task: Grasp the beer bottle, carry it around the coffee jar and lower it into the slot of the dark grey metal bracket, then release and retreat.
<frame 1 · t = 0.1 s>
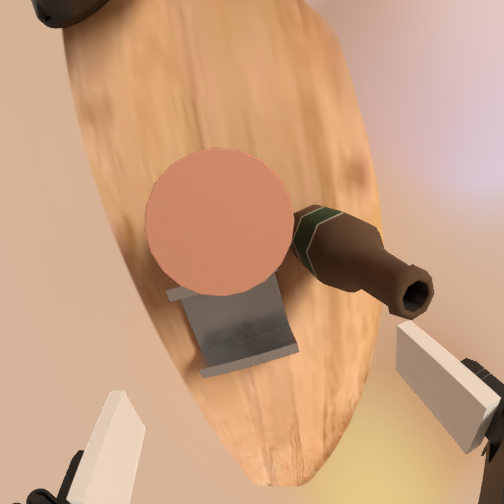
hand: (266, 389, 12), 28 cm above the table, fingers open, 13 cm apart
bracket: (233, 303, 41), on the table
coffee jar: (220, 204, 38), on the table
beer bottle: (312, 232, 40), on the table
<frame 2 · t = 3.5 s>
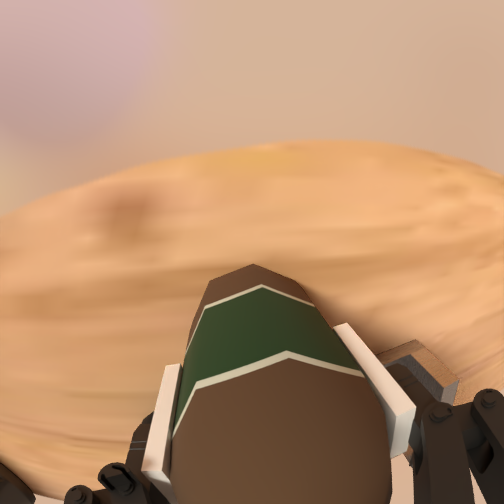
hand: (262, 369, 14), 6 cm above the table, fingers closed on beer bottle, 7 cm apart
bracket: (350, 416, 23), on the table
beer bottle: (250, 315, 20), on the table, touching gripper
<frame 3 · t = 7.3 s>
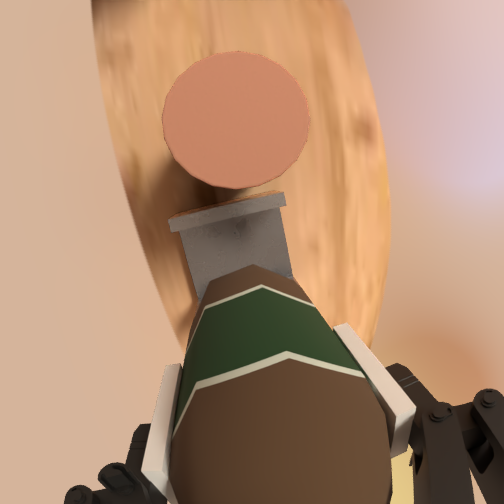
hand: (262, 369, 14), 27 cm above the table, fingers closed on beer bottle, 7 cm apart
bracket: (236, 249, 40), on the table
coffee jar: (230, 146, 37), on the table
beer bottle: (250, 315, 20), point 20 cm above the table, touching gripper
when the fingers open (9 cm above the table, at t = 11.4 s): beer bottle drops 1 cm, resting on bracket.
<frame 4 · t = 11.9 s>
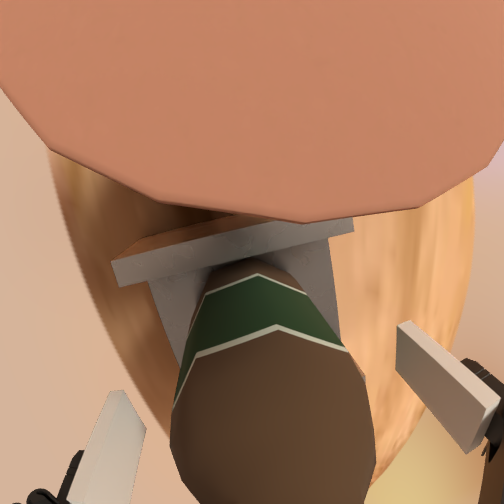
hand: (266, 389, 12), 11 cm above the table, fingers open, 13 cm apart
bracket: (247, 299, 23), on the table
coffee jar: (236, 116, 20), on the table
beer bottle: (248, 306, 21), point 1 cm above the table, touching bracket
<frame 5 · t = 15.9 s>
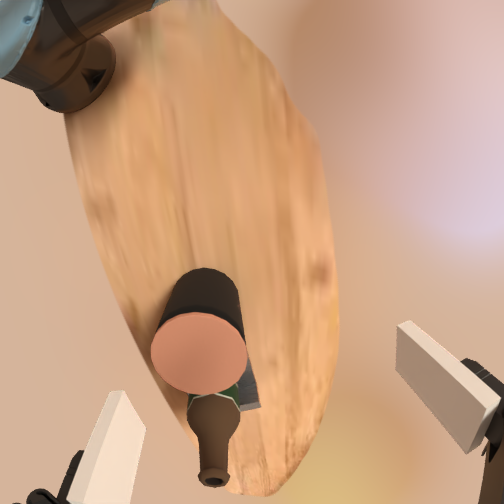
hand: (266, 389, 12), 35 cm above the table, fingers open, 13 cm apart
bracket: (214, 366, 51), on the table
coffee jar: (205, 296, 48), on the table
beer bottle: (214, 370, 50), point 1 cm above the table, touching bracket
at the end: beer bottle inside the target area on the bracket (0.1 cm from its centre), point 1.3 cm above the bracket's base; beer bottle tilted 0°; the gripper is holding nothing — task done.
